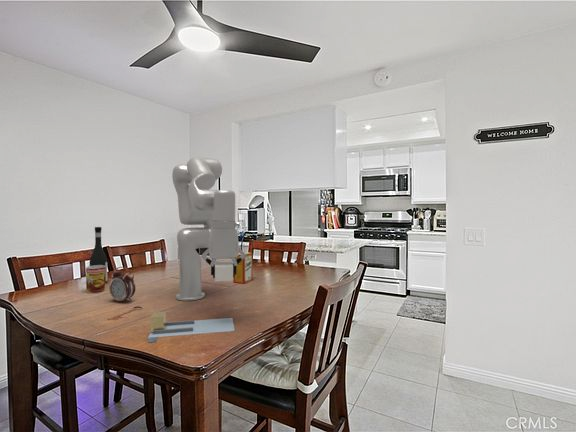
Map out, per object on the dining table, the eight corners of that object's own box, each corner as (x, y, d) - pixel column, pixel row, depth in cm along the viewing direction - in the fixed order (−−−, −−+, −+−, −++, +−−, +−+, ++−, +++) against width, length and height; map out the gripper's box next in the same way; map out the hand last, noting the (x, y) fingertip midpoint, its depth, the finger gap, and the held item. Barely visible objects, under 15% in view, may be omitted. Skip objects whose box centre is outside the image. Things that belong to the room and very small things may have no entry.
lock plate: (155, 327, 108) (155, 320, 107) (232, 321, 113) (232, 315, 113) (147, 342, 96) (147, 334, 96) (234, 335, 102) (234, 327, 102)
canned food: (87, 294, 146) (87, 268, 146) (84, 291, 152) (84, 266, 152) (107, 291, 152) (106, 266, 151) (103, 288, 158) (103, 264, 157)
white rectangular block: (215, 275, 114) (215, 261, 114) (231, 274, 116) (232, 261, 115) (214, 281, 106) (214, 266, 105) (233, 280, 107) (233, 266, 107)
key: (116, 323, 113) (148, 310, 127) (116, 320, 113) (148, 307, 127) (104, 320, 115) (136, 307, 129) (104, 317, 115) (137, 305, 129)
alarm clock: (108, 301, 136) (108, 267, 135) (118, 298, 140) (117, 265, 140) (127, 304, 132) (127, 269, 132) (136, 301, 137) (136, 267, 136)
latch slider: (153, 326, 104) (153, 312, 104) (166, 325, 105) (165, 311, 105) (150, 332, 99) (150, 317, 99) (163, 331, 100) (163, 316, 100)
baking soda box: (242, 279, 179) (242, 251, 179) (252, 280, 177) (252, 251, 177) (233, 282, 171) (233, 253, 170) (244, 284, 168) (244, 254, 168)
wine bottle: (103, 281, 172) (102, 226, 171) (110, 283, 168) (109, 227, 167) (87, 284, 166) (86, 227, 165) (93, 286, 161) (93, 227, 160)
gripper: (248, 224, 115) (247, 273, 116) (199, 224, 112) (198, 275, 113) (250, 226, 108) (249, 278, 109) (197, 226, 104) (197, 280, 105)
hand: (223, 276), depth 111 cm, fingers closed on white rectangular block, 6 cm apart
